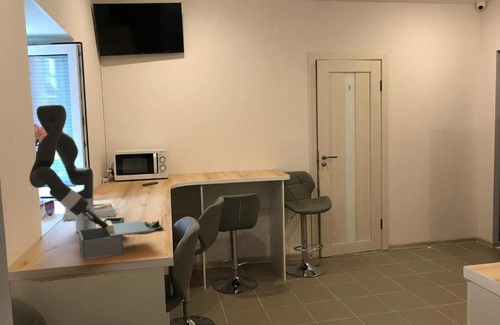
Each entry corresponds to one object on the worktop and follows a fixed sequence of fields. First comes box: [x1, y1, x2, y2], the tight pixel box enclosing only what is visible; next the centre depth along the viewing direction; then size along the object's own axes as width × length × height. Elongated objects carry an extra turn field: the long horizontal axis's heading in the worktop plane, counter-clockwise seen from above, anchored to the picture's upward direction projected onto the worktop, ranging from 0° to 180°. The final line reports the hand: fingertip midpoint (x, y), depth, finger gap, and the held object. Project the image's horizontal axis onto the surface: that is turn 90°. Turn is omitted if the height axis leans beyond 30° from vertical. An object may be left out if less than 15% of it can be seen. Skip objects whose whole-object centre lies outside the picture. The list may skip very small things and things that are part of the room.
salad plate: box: [141, 220, 164, 234], centre depth 215 cm, size 19×18×5 cm
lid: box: [105, 220, 151, 237], centre depth 185 cm, size 17×21×4 cm
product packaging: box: [63, 202, 116, 222], centre depth 255 cm, size 22×28×5 cm
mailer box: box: [78, 226, 124, 261], centre depth 180 cm, size 16×20×8 cm
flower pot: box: [102, 217, 125, 224], centre depth 201 cm, size 9×9×9 cm
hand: (105, 226), depth 181 cm, fingers closed
